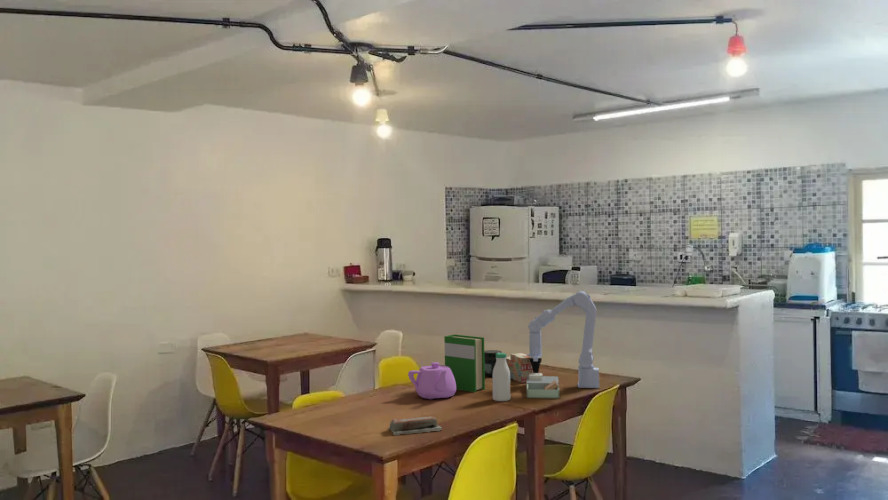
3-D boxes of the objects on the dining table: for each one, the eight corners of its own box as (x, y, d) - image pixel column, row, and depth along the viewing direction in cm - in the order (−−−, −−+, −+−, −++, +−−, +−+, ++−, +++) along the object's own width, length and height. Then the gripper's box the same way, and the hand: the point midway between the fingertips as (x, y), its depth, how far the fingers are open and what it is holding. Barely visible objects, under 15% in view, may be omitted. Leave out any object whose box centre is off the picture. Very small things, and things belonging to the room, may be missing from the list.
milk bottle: (509, 401, 305) (508, 355, 305) (491, 401, 307) (490, 354, 306) (511, 397, 313) (510, 352, 312) (494, 397, 314) (493, 351, 314)
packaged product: (394, 423, 257) (388, 417, 267) (394, 437, 258) (388, 430, 267) (442, 419, 263) (434, 412, 272) (442, 432, 263) (434, 425, 272)
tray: (558, 392, 322) (558, 384, 322) (559, 398, 310) (559, 390, 310) (527, 391, 324) (527, 383, 324) (526, 397, 312) (526, 389, 312)
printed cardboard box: (503, 375, 362) (502, 350, 362) (514, 374, 365) (514, 349, 364) (521, 383, 342) (520, 357, 342) (533, 382, 344) (532, 356, 344)
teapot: (404, 394, 322) (403, 361, 322) (448, 390, 328) (448, 358, 328) (417, 406, 300) (416, 370, 300) (464, 401, 307) (464, 366, 306)
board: (557, 384, 337) (557, 376, 337) (559, 392, 322) (558, 383, 322) (526, 384, 339) (526, 376, 338) (526, 391, 324) (526, 382, 324)
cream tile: (542, 377, 335) (542, 373, 335) (542, 380, 329) (542, 375, 329) (529, 377, 336) (529, 373, 336) (529, 379, 330) (529, 375, 330)
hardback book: (484, 389, 330) (484, 337, 329) (475, 392, 324) (474, 339, 324) (455, 384, 341) (454, 334, 341) (445, 387, 336) (444, 336, 335)
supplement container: (506, 374, 364) (506, 350, 363) (496, 378, 355) (496, 353, 354) (488, 372, 369) (488, 349, 369) (478, 376, 360) (477, 352, 360)
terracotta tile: (558, 383, 322) (555, 379, 322) (558, 386, 316) (555, 382, 316) (547, 390, 322) (544, 387, 322) (547, 393, 316) (544, 390, 316)
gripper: (527, 342, 346) (527, 370, 346) (526, 347, 331) (527, 376, 332) (541, 342, 345) (542, 370, 345) (542, 347, 330) (542, 377, 331)
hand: (535, 373), depth 338 cm, fingers closed
